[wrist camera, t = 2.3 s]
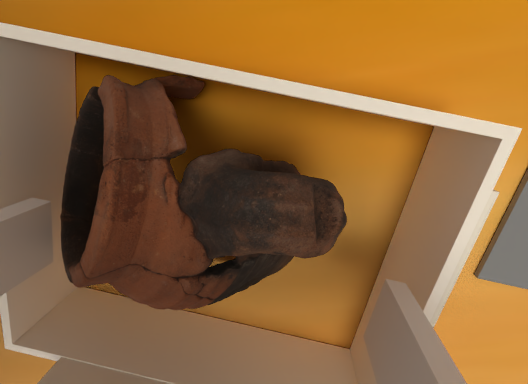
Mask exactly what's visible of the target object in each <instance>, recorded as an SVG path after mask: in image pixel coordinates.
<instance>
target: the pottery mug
mask: <svg viewBox="0 0 528 384" xmlns="http://www.w3.org/2000/svg"><path fill="white" fill-rule="evenodd" d="M203 87H204V82H203V81H198V80H195V79H194V78H192V77H190V76H188V77H179V76H177V75H170V76H167V77H157V78H154V79H150V80H146V81H144V82H143V83H141V84H138V85H135V86H132V85H129V84H126V83H123V82H121V81H120V80H119V79H117V78H115V77H114V76H110V75H107V76H105V77H104V78H103V81H102V84H101V86H100V87H92V88H91V89H90V90H89V92H88V94H87V96H86V98H85V100H84V102H83V104H82V107H81V109H80V112H79V117H78V119H77V122H76V124H75V127H74V132H73V136H72V140H71V147H70V151H69V155H68V162H67V166H66V173H65V181H64V187H63V196H62V206H61V207H62V211H61V215H60V219H61V251H62V258H63V263H64V267H65V272H66V274H67V277H68V279H69V281H70V282H71V283H73V284H74V285H75V286H76V287H79V288H81V287H86V286H90V285H95V284H105V283H109V284H111V285H112V286H113V287H114V288H115V289H116V290H117V291H119V292H120V293H122V294H124V295H126V296H128V297H129V298H131V299H132V300H133V301H135V302H137V303H141V304H145V305H148V306H150V307H152V308H155V309H171V310H181V309H185V308H189V309H195V308H200V307H203V306H206V305H210V304H213V303H216V302H217V301H221V300H223V299H225V298H227V297H229V296H231V295H233V294H235V293H236V292H240V291H243V290H245V289H247V288H248V287H249V286H251V285H254V284H256V283H258V282H259V281H260V280H262V279H263V278H265V277H267V276H269V275H271V274H274V273H276V272H278V271H279V270H281V269H282V268H283V267H284V266H286V265H287V264H288V263H289V262H290V261H291V260H292V258H293V257H294V256H296V257H300V258H310V257H316V256H320V255H323V254H325V253H326V252H328V251H329V250H330V249H331V248H332V247H333V246H334V244H335V242H336V240H337V237H338V236H339V234H340V233H341V231H342V229H343V228H344V227H345V225H346V222H347V217H346V214H345V212H344V203H343V199H342V197H341V196H340V194H339V193H338V191H337V189H336V187H335V186H334V185H333V184H332V183H331V182H329V181H327V180H324V179H319V178H314V177H308V176H304V175H301V174H300V173H299V172H298V170H297V169H296V167H295V166H294V165H293V164H289V163H287V162H285V161H276V162H275V161H264V160H263V159H262V158H261V157H260V156H258V155H254V154H248V153H242V152H240V151H239V150H236V149H224V150H221V151H219V152H215V153H212V154H208V155H202V156H199V157H198V158H196V159H194V160H192V161H191V162H190V163H189V164H188V166H187V167H186V169H185V171H184V174H183V179H182V183H179V182H178V181H177V180H176V178H175V175H174V172H173V169H172V167H171V164H170V159H171V158H176V157H177V156H179V155H181V154H183V153H185V151H186V150H187V144H186V140H185V137H184V135H183V133H182V130H181V128H180V125H179V123H178V117H177V114H176V111H175V108H174V106H173V104H172V103H171V101H170V100H169V99H168V97H174V98H186V99H192V98H195V97H196V96H197V95H198V94H199V93H200V92H201V90H202V89H203ZM225 256H235V257H236V258H235V259H234V260H229V261H226V262H224V263H220V264H216V265H214V266H211V267H209V266H210V265H211V264H212V261H213V259H214V258H217V257H225Z"/></svg>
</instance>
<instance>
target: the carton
mask: <svg viewBox="0 0 528 384" xmlns="http://www.w3.org/2000/svg"><path fill="white" fill-rule="evenodd" d="M75 53H80V54H85V55H89V56H94V57H99V58H104V59H109V60H114V61H119V62H124V63H129V64H133V65H138V66H143V67H148V68H153V69H158V70H163V71H168V72H172V73H177V74H182V75H187V76H192V77H197V78H202V79H207V80H211V81H216V82H221V83H226V84H231V85H236V86H241V87H246V88H250V89H255V90H260V91H265V92H270V93H275V94H280V95H285V96H289V97H294V98H299V99H304V100H309V101H314V102H319V103H324V104H328V105H333V106H338V107H343V108H348V109H353V110H358V111H363V112H367V113H372V114H377V115H382V116H387V117H392V118H397V119H402V120H406V121H411V122H416V123H421V124H426V125H431V126H434V129H433V131H432V134H431V137H430V139H429V142H428V145H427V147H426V150H425V152H424V155H423V158H422V160H421V163H420V166H419V168H418V171H417V174H416V176H415V179H414V181H413V184H412V187H411V189H410V192H409V195H408V197H407V200H406V203H405V205H404V208H403V210H402V213H401V216H400V218H399V221H398V224H397V226H396V229H395V231H394V234H393V237H392V239H391V242H390V245H389V247H388V250H387V253H386V255H385V258H384V260H383V263H382V266H381V268H380V271H379V274H378V276H377V279H376V282H375V284H374V287H373V289H372V292H371V295H370V297H369V300H368V303H367V305H366V308H365V311H364V313H363V316H362V318H361V321H360V324H359V326H358V329H357V332H356V334H355V337H354V340H353V342H352V345H351V347H350V349H347V348H342V347H338V346H334V345H330V344H325V343H321V342H317V341H312V340H308V339H304V338H300V337H295V336H291V335H287V334H282V333H278V332H274V331H270V330H265V329H261V328H257V327H252V326H248V325H244V324H240V323H235V322H231V321H227V320H222V319H218V318H214V317H210V316H205V315H201V314H197V313H192V312H188V311H184V310H171V309H155V308H152V307H150V306H148V305H145V304H141V303H137V302H135V301H133V300H132V299H131V298H128V297H124V296H120V295H115V294H111V293H107V292H102V291H98V290H94V289H90V288H85V287H81V288H79V287H76V286H75V285H74V284H73V283H71V282H70V281H69V279H68V277H67V274H66V272H65V267H64V263H63V258H62V251H61V219H60V215H61V211H62V207H61V206H62V196H63V187H64V181H65V173H66V166H67V162H68V155H69V151H70V147H71V140H72V136H73V132H74V127H75V124H76V83H75ZM521 130H522V128H518V127H513V126H508V125H503V124H498V123H493V122H488V121H483V120H478V119H473V118H468V117H463V116H459V115H454V114H449V113H444V112H439V111H434V110H429V109H424V108H419V107H414V106H409V105H404V104H399V103H395V102H390V101H385V100H380V99H375V98H370V97H365V96H360V95H355V94H350V93H345V92H340V91H336V90H331V89H326V88H321V87H316V86H311V85H306V84H301V83H296V82H291V81H286V80H281V79H276V78H272V77H267V76H262V75H257V74H252V73H247V72H242V71H237V70H232V69H227V68H222V67H217V66H213V65H208V64H203V63H198V62H193V61H188V60H183V59H178V58H173V57H168V56H163V55H158V54H153V53H149V52H144V51H139V50H134V49H129V48H124V47H119V46H114V45H109V44H104V43H99V42H94V41H90V40H85V39H80V38H75V37H70V36H65V35H60V34H55V33H50V32H45V31H40V30H35V29H30V28H26V27H21V26H16V25H11V24H6V23H1V22H0V209H1V208H4V207H7V206H10V205H13V204H15V203H18V202H21V201H24V200H27V199H29V198H32V197H33V198H37V199H42V200H46V201H50V202H51V216H52V240H53V262H52V263H51V264H49V265H48V266H46V267H45V268H43V269H42V270H40V271H38V272H37V273H35V274H34V275H32V276H31V277H29V278H28V279H26V280H25V281H23V282H22V283H20V284H18V285H17V286H15V287H14V288H12V289H11V290H9V291H8V292H6V293H5V294H3V295H2V296H0V314H1V321H2V329H3V337H4V345H5V349H9V350H13V351H17V352H21V353H25V354H29V355H33V356H38V357H42V358H46V359H50V360H54V361H57V362H56V363H55V364H54V365H53V367H52V368H51V369H50V370H49V371H48V372H47V373H46V374H45V375H44V377H43V378H42V379H41V380H40V381H39V382H38V383H37V384H377V383H376V379H375V376H374V372H373V369H372V365H371V362H370V358H369V355H368V351H367V348H366V344H365V341H364V337H363V336H364V333H365V330H366V328H367V325H368V323H369V320H370V318H371V315H372V312H373V310H374V307H375V305H376V302H377V299H378V297H379V294H380V292H381V289H382V286H383V284H384V281H385V279H389V280H393V281H398V282H402V283H406V284H407V286H408V288H409V289H410V291H411V292H412V294H413V296H414V297H415V299H416V301H417V302H418V304H419V306H420V307H421V309H422V311H423V312H424V314H425V316H426V317H427V319H428V320H429V322H430V324H431V325H432V327H433V328H434V326H435V324H436V322H437V320H438V318H439V315H440V313H441V311H442V309H443V307H444V305H445V303H446V301H447V299H448V297H449V295H450V293H451V291H452V289H453V287H454V285H455V283H456V281H457V279H458V277H459V274H460V272H461V270H462V268H463V266H464V264H465V262H466V260H467V258H468V256H469V254H470V252H471V250H472V248H473V246H474V244H475V242H476V240H477V238H478V236H479V233H480V231H481V229H482V227H483V225H484V223H485V221H486V219H487V217H488V215H489V213H490V211H491V209H492V207H493V205H494V203H495V201H496V199H497V197H498V194H499V192H498V191H495V190H493V189H494V187H495V184H496V182H497V180H498V178H499V176H500V174H501V172H502V170H503V168H504V166H505V164H506V161H507V159H508V157H509V155H510V153H511V151H512V149H513V147H514V145H515V143H516V141H517V138H518V136H519V134H520V132H521Z"/></svg>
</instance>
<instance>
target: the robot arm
mask: <svg viewBox="0 0 528 384" xmlns="http://www.w3.org/2000/svg"><path fill="white" fill-rule="evenodd" d="M52 262H53V240H52V216H51V202H50V201H46V200H42V199H37V198H33V197H32V198H29V199H27V200H24V201H21V202H18V203H15V204H13V205H10V206H7V207H4V208H1V209H0V296H2V295H3V294H5V293H6V292H8V291H9V290H11V289H12V288H14V287H15V286H17V285H18V284H20V283H22V282H23V281H25V280H26V279H28V278H29V277H31V276H32V275H34V274H35V273H37V272H38V271H40V270H42V269H43V268H45V267H46V266H48V265H49V264H51V263H52ZM363 337H364V341H365V344H366V348H367V351H368V355H369V358H370V362H371V365H372V369H373V372H374V376H375V379H376V383H377V384H467V383H466V381H465V380H464V378H463V376H462V375H461V373H460V372H459V370H458V368H457V367H456V365H455V363H454V362H453V360H452V358H451V357H450V355H449V353H448V352H447V350H446V348H445V347H444V345H443V344H442V342H441V340H440V339H439V337H438V335H437V334H436V332H435V330H434V329H433V327H432V325H431V324H430V322H429V320H428V319H427V317H426V316H425V314H424V312H423V311H422V309H421V307H420V306H419V304H418V302H417V301H416V299H415V297H414V296H413V294H412V292H411V291H410V289H409V288H408V286H407V284H406V283H402V282H398V281H393V280H389V279H385V281H384V284H383V286H382V289H381V292H380V294H379V297H378V299H377V302H376V305H375V307H374V310H373V312H372V315H371V318H370V320H369V323H368V325H367V328H366V330H365V333H364V336H363Z"/></svg>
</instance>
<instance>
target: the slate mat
mask: <svg viewBox="0 0 528 384" xmlns="http://www.w3.org/2000/svg"><path fill="white" fill-rule="evenodd" d="M474 275H475V276H476V277H477V278H479V279H484V280H488V281H493V282H497V283H502V284H506V285H511V286H515V287H520V288H524V289H528V169H527V171H526V173H525V175H524V177H523V179H522V181H521V183H520V185H519V187H518V189H517V191H516V193H515V195H514V197H513V199H512V201H511V203H510V205H509V207H508V209H507V211H506V212H505V214H504V216H503V218H502V220H501V222H500V224H499V226H498V228H497V230H496V232H495V234H494V236H493V238H492V240H491V242H490V244H489V246H488V248H487V250H486V252H485V254H484V256H483V258H482V260H481V262H480V264H479V266H478V268H477V270H476V272H475V274H474Z"/></svg>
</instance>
